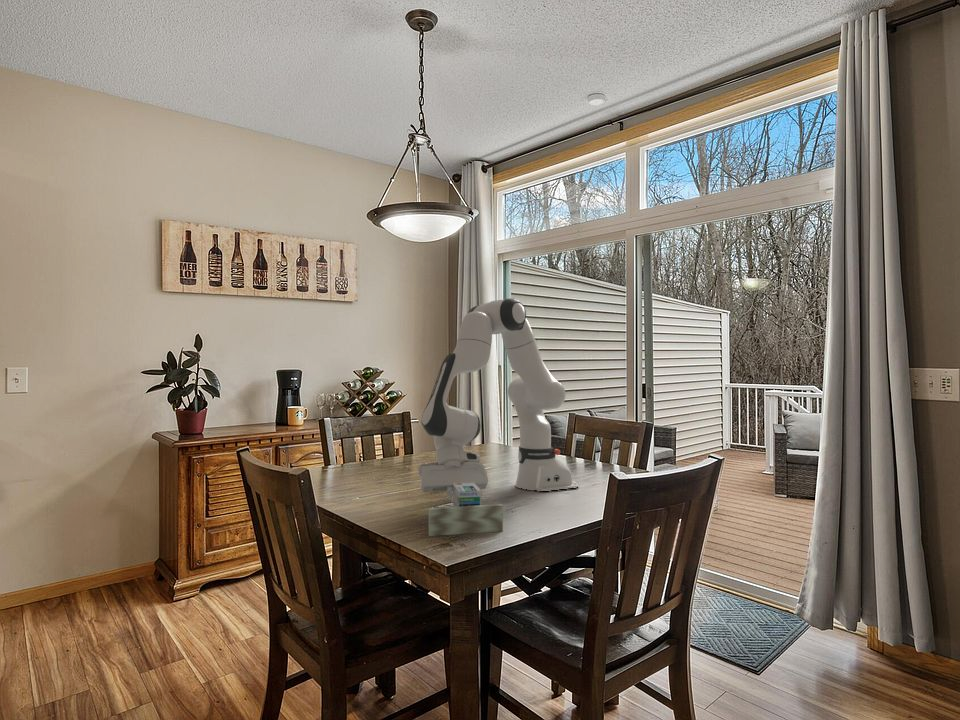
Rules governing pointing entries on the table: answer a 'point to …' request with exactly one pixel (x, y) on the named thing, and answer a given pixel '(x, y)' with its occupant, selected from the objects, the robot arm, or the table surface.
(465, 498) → the light bulb box
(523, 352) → the robot arm
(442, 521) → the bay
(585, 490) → the table surface
